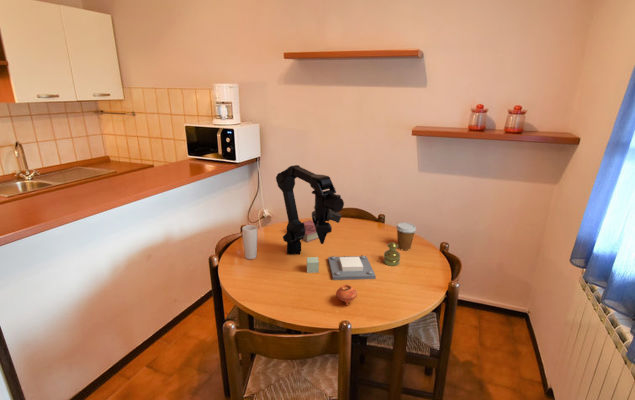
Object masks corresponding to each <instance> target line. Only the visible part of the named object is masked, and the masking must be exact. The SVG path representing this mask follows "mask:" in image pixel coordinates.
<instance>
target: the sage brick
mask: <svg viewBox="0 0 635 400" xmlns="http://www.w3.org/2000/svg"><path fill="white" fill-rule="evenodd" d="M319 264H320V261H319V257H318V256H308V257H307V256H306V272H307V274H311V273H312V274H313V273H314V274H316V273H319V270H320V265H319Z"/></svg>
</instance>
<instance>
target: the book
mask: <svg viewBox="0 0 635 400" xmlns="http://www.w3.org/2000/svg"><path fill="white" fill-rule="evenodd" d="M301 223H304V226H305V230H306V231H305V235H304V238H303V239H301V240H300V241H303V242H305V243H309V242H313V241H316V240H319V238H318V235H317V232H316V228H315V225H314V223H313V220H312V219H307V220H306V221H301ZM326 236H328V234H327V235H326Z"/></svg>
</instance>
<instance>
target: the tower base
mask: <svg viewBox="0 0 635 400" xmlns="http://www.w3.org/2000/svg"><path fill="white" fill-rule="evenodd" d="M327 261H328V264H329V268H330V272H331V276H332V280H333V281H344V280H345V281H349V280H376V277H377V275H376V273H375V271H374V270H373V267H372V265H371V262H370V261H369V259H368V257H367V255H358V256H357V255H354V256H353V255H352V256H351V255H350V256H349V255H348V256H344V255H343V256H335V255H331V256H328V258H327Z"/></svg>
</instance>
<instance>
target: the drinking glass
mask: <svg viewBox="0 0 635 400" xmlns="http://www.w3.org/2000/svg"><path fill="white" fill-rule="evenodd" d="M241 231H242V233H241V234H242V242H243V250H244V257H245V259H247V260H254V259H256V258H257V255H258V254H257V253H258V250H257V248H258V226H256V225H253V224H247V225H244V226H243V227H242V229H241Z"/></svg>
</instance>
